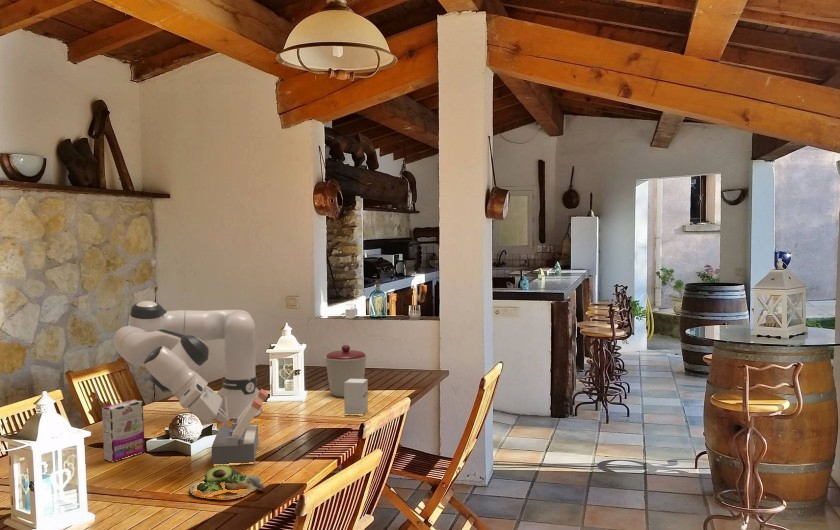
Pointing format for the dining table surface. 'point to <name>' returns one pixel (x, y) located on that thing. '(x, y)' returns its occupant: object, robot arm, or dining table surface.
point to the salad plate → (227, 481)
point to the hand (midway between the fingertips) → (227, 422)
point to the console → (235, 445)
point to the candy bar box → (123, 429)
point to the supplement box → (355, 396)
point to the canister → (344, 368)
